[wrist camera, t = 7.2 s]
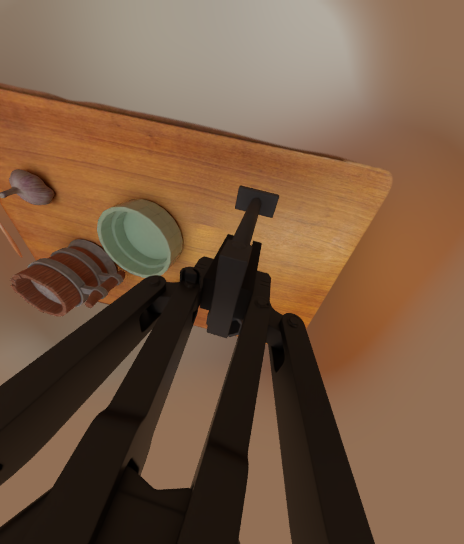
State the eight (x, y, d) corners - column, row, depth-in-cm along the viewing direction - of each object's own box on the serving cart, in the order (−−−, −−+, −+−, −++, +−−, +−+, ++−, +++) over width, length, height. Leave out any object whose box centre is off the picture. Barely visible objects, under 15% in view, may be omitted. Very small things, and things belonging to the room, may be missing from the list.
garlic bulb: (63, 196, 41) (24, 205, 35) (48, 208, 44) (9, 219, 38) (33, 160, 38) (-17, 164, 32) (18, 176, 41) (-30, 182, 35)
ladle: (242, 323, 33) (223, 412, 22) (211, 314, 34) (178, 397, 23) (285, 196, 20) (293, 260, 9) (234, 183, 20) (181, 230, 9)
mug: (61, 234, 48) (-11, 265, 36) (127, 245, 46) (73, 282, 34) (83, 277, 57) (30, 313, 44) (140, 288, 54) (100, 330, 42)
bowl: (126, 182, 37) (101, 188, 31) (194, 226, 39) (181, 239, 34) (115, 240, 46) (94, 252, 40) (171, 273, 48) (158, 289, 43)
